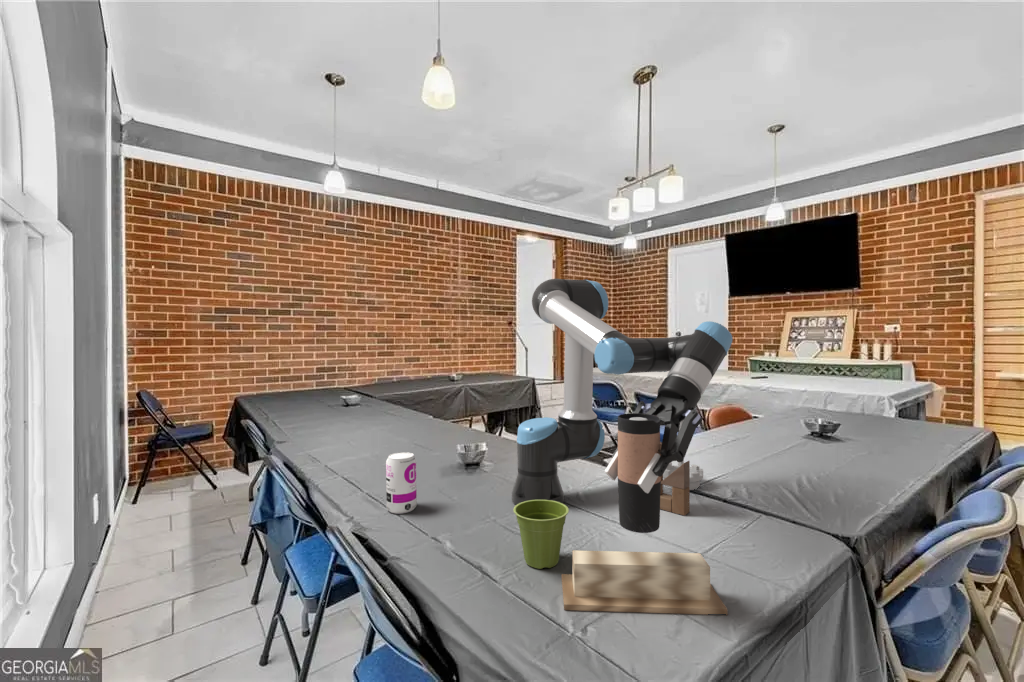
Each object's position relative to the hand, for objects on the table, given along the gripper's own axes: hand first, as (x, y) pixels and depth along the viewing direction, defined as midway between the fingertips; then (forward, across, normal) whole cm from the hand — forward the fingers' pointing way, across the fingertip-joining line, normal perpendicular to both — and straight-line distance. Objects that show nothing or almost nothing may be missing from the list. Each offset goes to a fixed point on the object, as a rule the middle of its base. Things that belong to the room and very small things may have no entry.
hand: (625, 481), depth 81 cm
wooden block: (-14, +25, -45) cm, 53 cm away
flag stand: (-28, +36, -59) cm, 75 cm away
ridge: (+13, 0, -18) cm, 22 cm away
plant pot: (+19, +20, -12) cm, 30 cm away
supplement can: (+30, +65, -1) cm, 72 cm away
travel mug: (+4, 0, -9) cm, 9 cm away
